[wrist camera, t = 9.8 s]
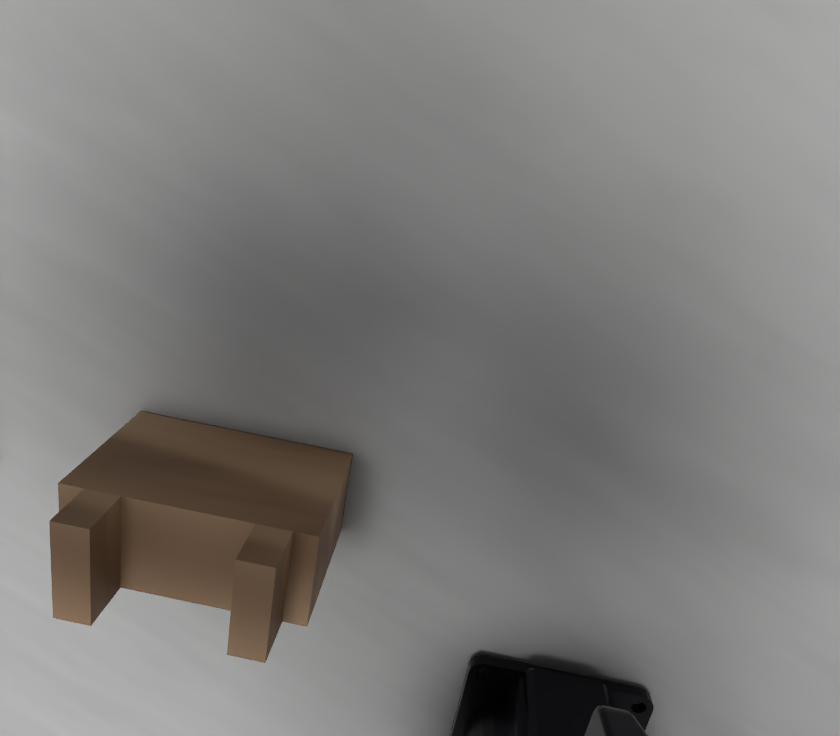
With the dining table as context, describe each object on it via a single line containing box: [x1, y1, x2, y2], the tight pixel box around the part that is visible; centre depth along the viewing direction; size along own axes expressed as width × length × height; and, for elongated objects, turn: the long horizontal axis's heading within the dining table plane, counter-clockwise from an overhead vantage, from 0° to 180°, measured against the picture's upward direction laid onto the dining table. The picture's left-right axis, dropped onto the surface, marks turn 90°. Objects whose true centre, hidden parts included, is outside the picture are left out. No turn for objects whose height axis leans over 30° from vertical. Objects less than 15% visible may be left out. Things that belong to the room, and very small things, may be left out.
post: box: [50, 411, 352, 663], centre depth 20 cm, size 3×7×6 cm, turn 80°
